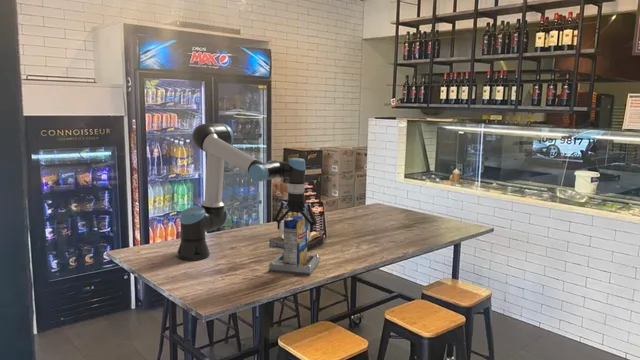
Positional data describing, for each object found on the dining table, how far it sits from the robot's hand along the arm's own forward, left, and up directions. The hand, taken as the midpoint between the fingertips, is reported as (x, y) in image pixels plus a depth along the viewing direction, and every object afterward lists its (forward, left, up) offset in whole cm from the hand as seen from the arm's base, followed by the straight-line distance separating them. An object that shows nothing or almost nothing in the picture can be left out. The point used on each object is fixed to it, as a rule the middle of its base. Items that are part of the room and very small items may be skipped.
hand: (295, 237), depth 226 cm
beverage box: (0, 0, -13) cm, 13 cm away
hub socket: (0, 0, -14) cm, 14 cm away
